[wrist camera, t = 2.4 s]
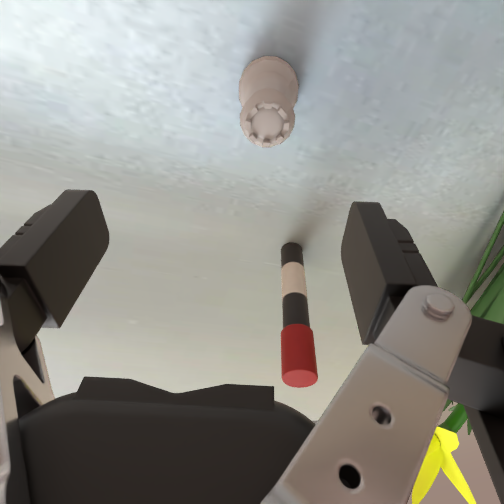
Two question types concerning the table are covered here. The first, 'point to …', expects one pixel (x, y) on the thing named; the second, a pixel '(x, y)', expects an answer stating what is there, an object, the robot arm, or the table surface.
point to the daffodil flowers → (445, 438)
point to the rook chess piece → (268, 101)
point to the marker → (296, 322)
